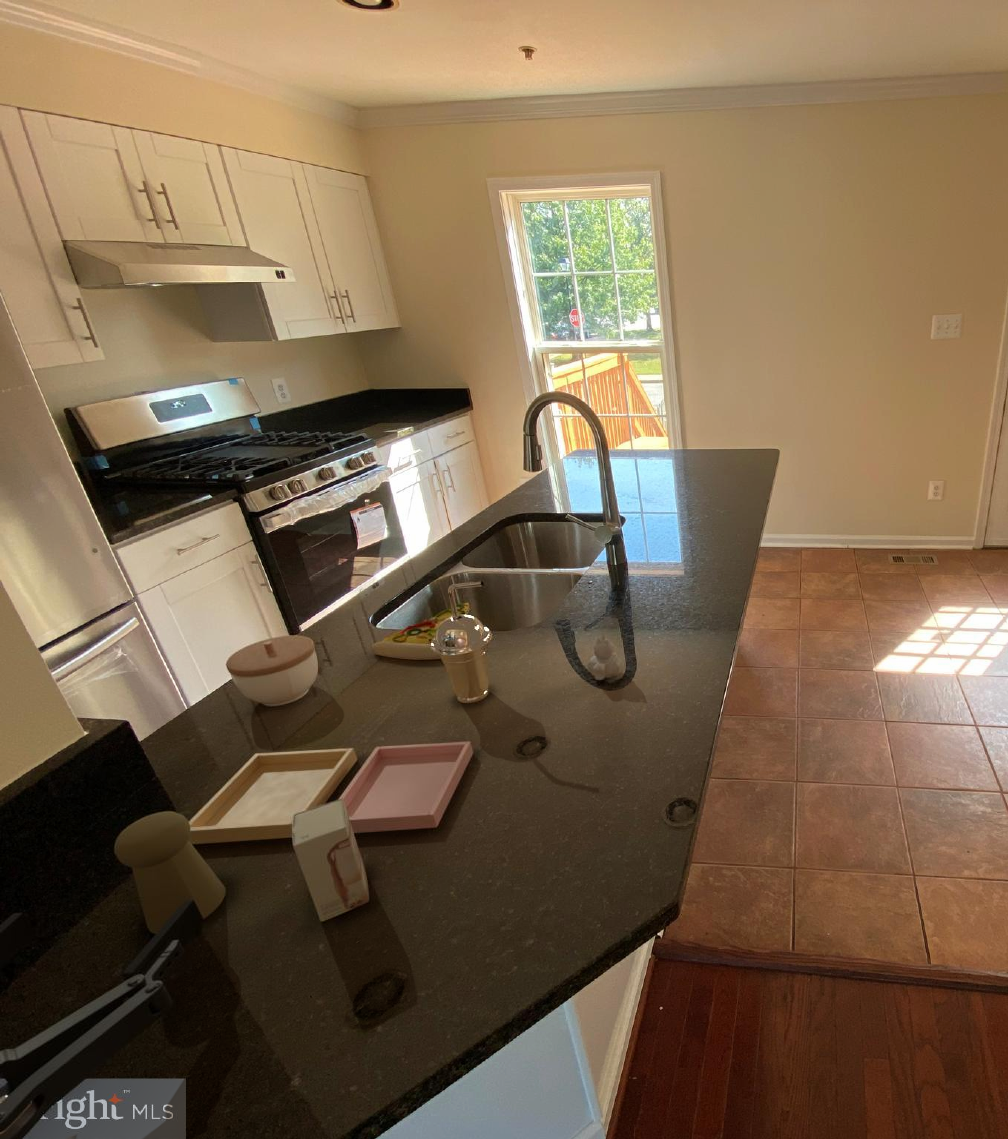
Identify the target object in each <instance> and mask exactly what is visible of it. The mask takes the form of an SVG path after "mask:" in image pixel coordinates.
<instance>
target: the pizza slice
mask: <svg viewBox="0 0 1008 1139" xmlns="http://www.w3.org/2000/svg"><path fill="white" fill-rule="evenodd" d="M456 606H457V611H458V614H467V615H469V612H470V604H469V602H465V603H464V602H463V603H462V602H461V603H456ZM451 616H453V612H452V608H451V607H450V608H446V609H443V610H442V611H440V612H439V613H437V614H436V615H435V616H433V617H431V618H425V619H424V620H423V621H422V622H421V623H417V624H413V625H408V626H407V627H406V628H404V629H402V630H400V631H396V632H393V633H391V634H389V635H387V636H385V637H384V638H383V639H382V641H377V642H373V644H372V645H371V651H372V653H373V655H377V656H380V657H381V656H382V657H387V658H392V659H402V660H411V661H424V660H427V661H428V660H441V658H440V656H439V654H437V653H435V652H434V651H432V649H431V640H432V638H433V637H434V636H435V634H436V631H437V629H438V626H439V625H440V624H441V623H442V622H443V621H444V620H445V619H447V618H448V617H451Z"/></svg>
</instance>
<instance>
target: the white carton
mask: <svg viewBox="0 0 1008 1139" xmlns="http://www.w3.org/2000/svg"><path fill="white" fill-rule="evenodd" d="M338 799H339V798H338ZM338 799H336V800H333V801H329V802H326V803H325V804H323V805H320V806H317V807H314V808H311V809H308V810H305V811H302V812H299V813H296V814H294V815H293V824H292V837H291V838H292V847H293V850H294V853H295V856H296V858H297V861H298V863H299V866H300V869H301V872H302V874H303V878H304V880H305V883H306V885H307V888H308V891H309V894H310V897H311V899H312V903H313V905H314V908H315V910H316V914H317V916H318V919H319V922H325V921H327V920H330V919H333V918H336V917H337V916H340V915H342V914H345V913H346V912H349V911H351V910H354V909H357V908H359V907H361V906H363V905H365V904H367V903H369V901H370V892H369V891H370V890H369V883H368V877H367V871H366V868H365V865H364V862H363V859H362V856H361V852H360V849H359V846H358V843H357V839H356V837H355V833H353V829H352V826H351V823H350V820H349V817H348V813H347V810H346V807H345V804H344V800H343V799H339V800H338Z"/></svg>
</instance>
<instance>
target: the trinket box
mask: <svg viewBox="0 0 1008 1139" xmlns="http://www.w3.org/2000/svg"><path fill="white" fill-rule="evenodd" d="M315 649H316V646H315V642H314V640H313V639H311V638H310V637H308V636H305V635H295V634H294V635H282V636H276V637H270V638H267V639H263V640H259V641H257V642H254V643H251V644H248V645H246V646H244V647H242V648H240V649H239V650H237V651H235V652H234V653H233V654H231V655H230V656H229V657H228V659H227V660H226V663H225V666H226V670H227V671H228V673H229V675H230V677H231V679H232V682H233V683H234V685H235V686H236V688H237V689H238V690H239V692H240V693H241V694H242V695H243V696H244V697H246V698H247V699H249V700H251V701H253V702H256V703H259V704H262V705H263V706H265V707H278V706H279V707H280V706H284V705H287V704H290V703H293V702H296V701H297V700H299V699H301V698H303V697H304V696H305V695H307V694H308V693H309V690H310V688H311V687H312V686H313V685H314V683H315V681H316V678H317V676H318V671H319V663H318V656H317V652H316V650H315Z"/></svg>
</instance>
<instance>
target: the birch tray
mask: <svg viewBox="0 0 1008 1139" xmlns="http://www.w3.org/2000/svg"><path fill="white" fill-rule="evenodd" d="M357 761H358V758H357V755H356V751H355V748H354V747H350V748H349V747H347V748H332V749H331V748H330V749H314V750H295V751H293V750H291V751H276V752H275V751H273V752H256V753H254V754H253V756H251V757H250V758H249V760H247V762H245V764H244V765H243V766H242V767H241V768H240V769H239V770H238V771H237V772H236V773H235V774H234V775H233V776H232V777H231V778H230V779H229V780H228V781H227V782H226V783H225V784H224V785H223V786H222V787H221V788H220V790H218V791H217V792H216V793H215V794H214V795H213V796H212V797H211V798H210V800H208V801H207V802H206V803H205V804H204V805H203V807H202V808H201V809H200V810H198V811H197V813H196V814H195V815H194V816H193V817H192V818H191V819H190V820H188V822H189V824H190V829H191V832H190V838H189V841H190V843H191V844H192V845H201V844H202V845H203V844H218V843H231V842H247V841H260V840H275V839H290V838H292V824H293V815H294V814H296V813H299V812H302V811H305V810H308V809H311V808H314V807H317V806H320V805H323V804H327V802H328V800H329V799H330V798H331V796H332V795H333V794H334V792H335V791H336V789H337V788H338V787H339V785H340V784H341V783H342V781H343V780H344V779H345V777H346V776H347V775H348V773H349V772H350V771H351V769H352V768H353V767H354V765H355V764H356V763H357Z"/></svg>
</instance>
